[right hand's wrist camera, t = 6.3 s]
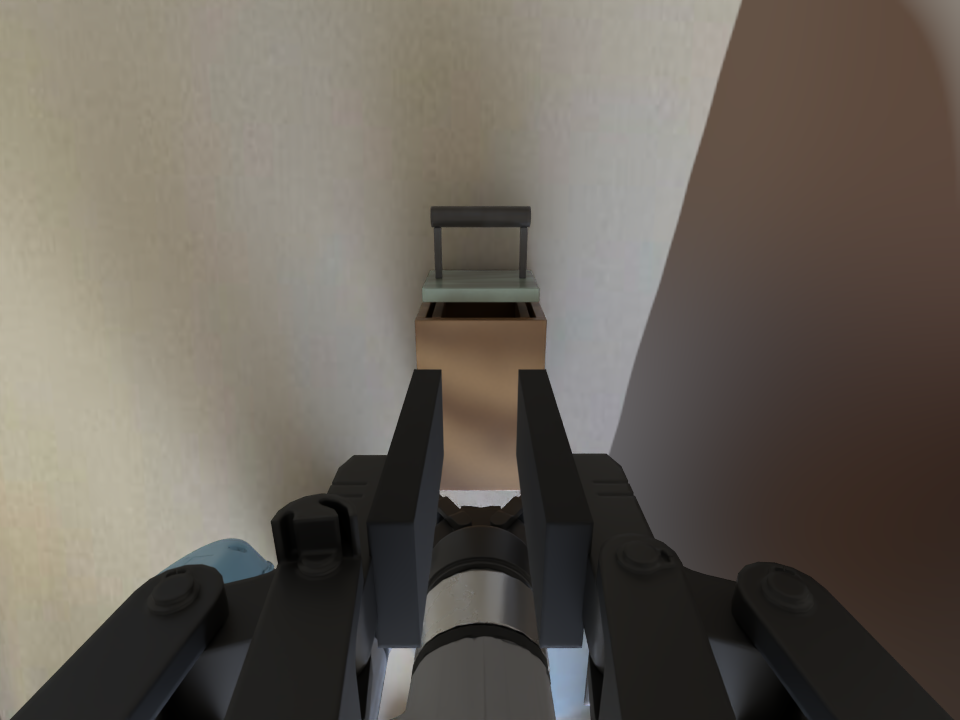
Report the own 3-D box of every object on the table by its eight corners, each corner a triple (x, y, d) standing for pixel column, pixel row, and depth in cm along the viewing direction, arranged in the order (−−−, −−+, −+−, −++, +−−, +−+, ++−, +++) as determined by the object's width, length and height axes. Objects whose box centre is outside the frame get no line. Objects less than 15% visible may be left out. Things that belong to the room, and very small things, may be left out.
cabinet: (425, 293, 53) (414, 320, 44) (535, 293, 53) (546, 320, 44) (431, 440, 59) (422, 490, 50) (529, 440, 59) (538, 490, 50)
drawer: (427, 203, 49) (418, 210, 42) (533, 203, 49) (543, 210, 42) (435, 414, 57) (428, 452, 49) (526, 414, 57) (533, 452, 49)
